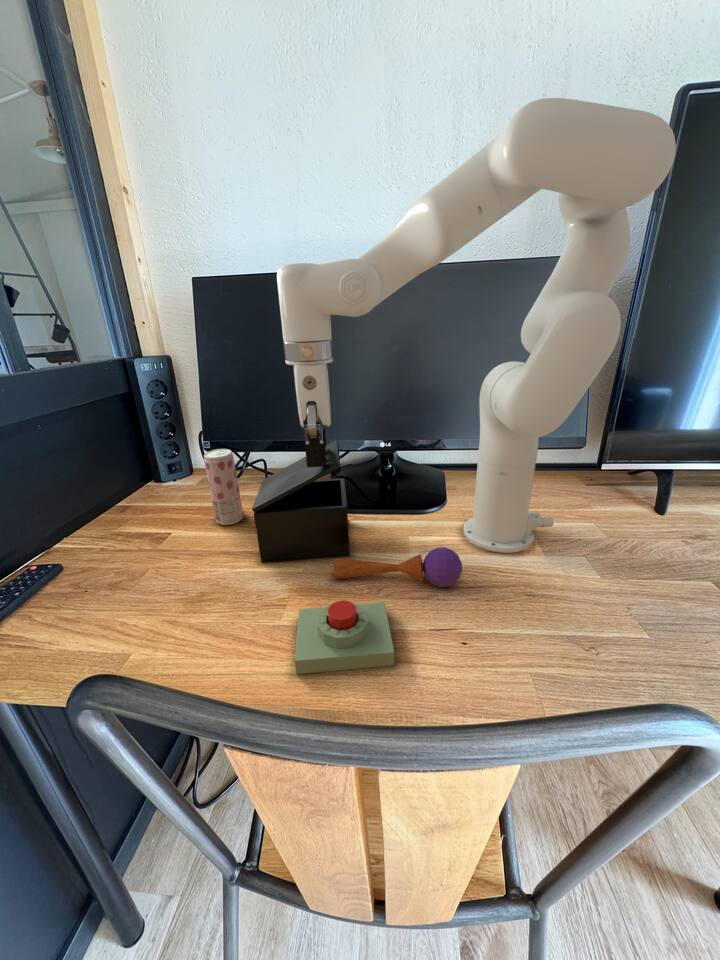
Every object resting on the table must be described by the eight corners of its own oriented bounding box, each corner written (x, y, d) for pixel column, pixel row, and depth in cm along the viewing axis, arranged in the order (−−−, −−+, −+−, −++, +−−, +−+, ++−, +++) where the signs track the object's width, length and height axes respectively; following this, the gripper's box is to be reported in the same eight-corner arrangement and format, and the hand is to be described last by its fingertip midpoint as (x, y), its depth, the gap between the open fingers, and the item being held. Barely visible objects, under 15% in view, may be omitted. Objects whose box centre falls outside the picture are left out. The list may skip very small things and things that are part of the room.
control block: (384, 614, 57) (384, 591, 56) (394, 665, 49) (394, 640, 47) (300, 621, 56) (297, 598, 55) (296, 674, 48) (292, 649, 47)
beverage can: (247, 513, 88) (237, 448, 82) (237, 526, 82) (225, 457, 76) (223, 512, 88) (210, 448, 82) (211, 525, 83) (197, 457, 77)
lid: (338, 443, 76) (325, 421, 74) (340, 467, 64) (325, 442, 62) (265, 482, 78) (251, 462, 76) (254, 513, 66) (237, 490, 64)
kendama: (337, 544, 67) (459, 541, 64) (341, 577, 68) (460, 575, 65) (329, 559, 61) (463, 556, 58) (333, 594, 63) (464, 593, 59)
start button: (355, 609, 53) (355, 599, 52) (357, 629, 50) (357, 618, 49) (328, 611, 53) (327, 601, 52) (328, 632, 49) (327, 621, 49)
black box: (346, 521, 82) (344, 478, 79) (349, 556, 71) (347, 507, 67) (270, 527, 82) (264, 483, 78) (261, 563, 70) (253, 513, 66)
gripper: (333, 357, 55) (340, 475, 62) (331, 347, 71) (337, 441, 78) (278, 360, 55) (291, 478, 62) (289, 348, 71) (299, 443, 78)
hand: (317, 457), depth 70 cm, fingers open, 7 cm apart
